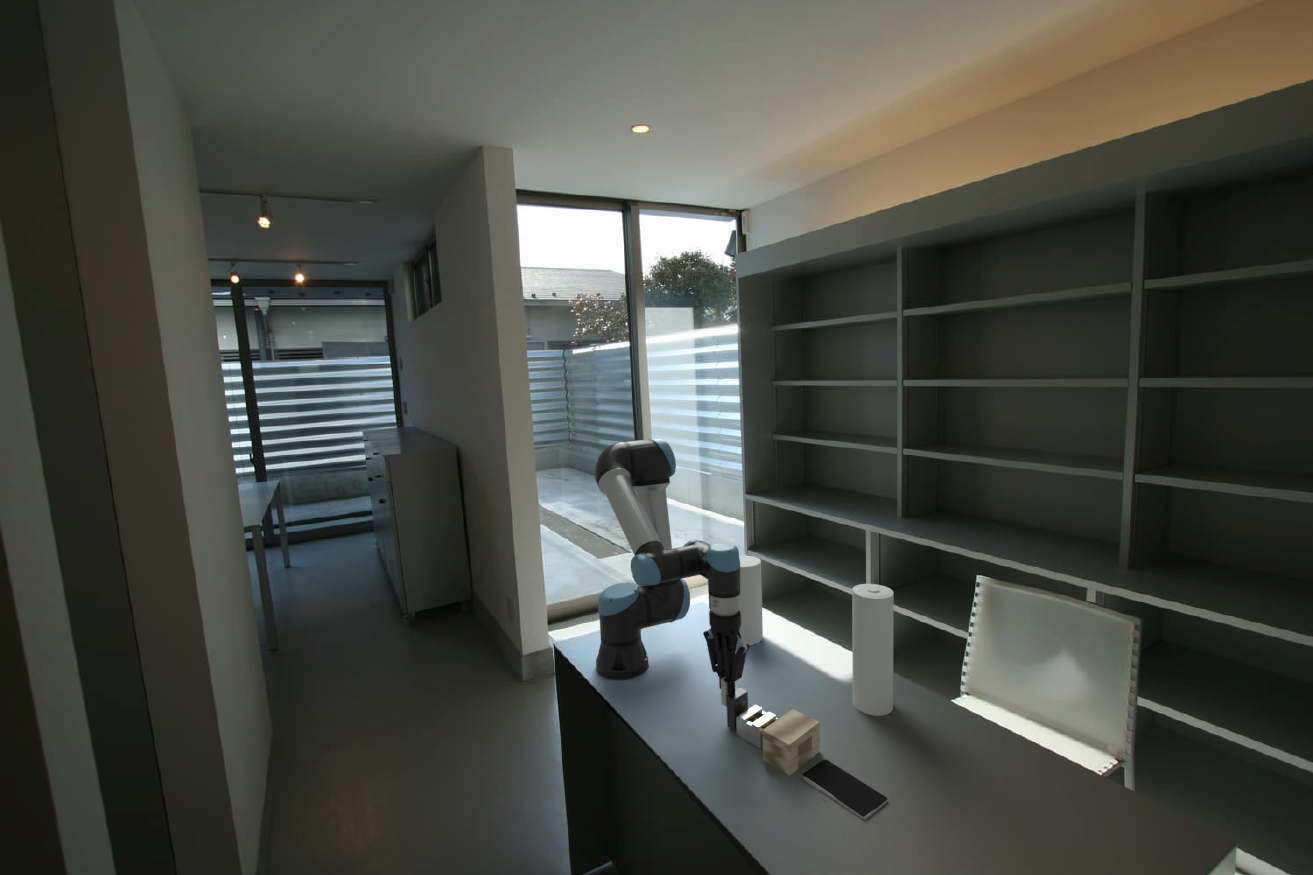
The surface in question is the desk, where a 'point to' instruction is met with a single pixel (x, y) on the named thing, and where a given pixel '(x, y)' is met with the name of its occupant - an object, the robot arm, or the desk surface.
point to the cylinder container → (872, 648)
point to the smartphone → (844, 789)
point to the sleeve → (753, 725)
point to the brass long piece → (738, 707)
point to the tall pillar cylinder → (751, 600)
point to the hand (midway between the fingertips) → (727, 703)
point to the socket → (791, 741)
